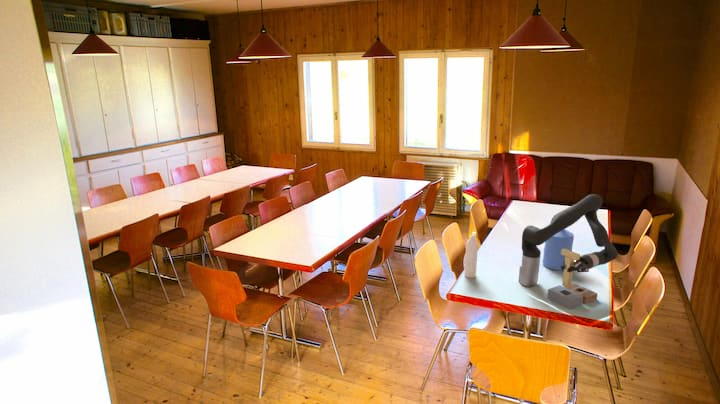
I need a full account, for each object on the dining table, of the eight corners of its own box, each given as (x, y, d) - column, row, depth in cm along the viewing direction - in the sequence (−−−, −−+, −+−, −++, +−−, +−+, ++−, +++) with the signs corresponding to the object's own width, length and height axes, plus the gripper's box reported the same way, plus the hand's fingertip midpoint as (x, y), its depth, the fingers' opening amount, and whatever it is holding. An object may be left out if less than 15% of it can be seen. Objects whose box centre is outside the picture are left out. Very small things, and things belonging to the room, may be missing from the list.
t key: (557, 283, 245) (560, 249, 240) (561, 281, 247) (564, 248, 241) (572, 290, 238) (576, 255, 233) (576, 288, 239) (580, 254, 234)
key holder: (546, 299, 249) (548, 289, 247) (558, 295, 253) (559, 285, 251) (570, 311, 237) (571, 300, 235) (581, 306, 241) (583, 295, 239)
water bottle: (474, 278, 273) (477, 237, 266) (463, 276, 276) (465, 236, 269) (477, 272, 281) (480, 232, 274) (466, 271, 283) (468, 231, 276)
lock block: (561, 294, 254) (562, 286, 253) (572, 290, 258) (573, 283, 257) (585, 305, 242) (586, 297, 241) (596, 301, 247) (597, 293, 245)
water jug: (572, 271, 281) (578, 226, 274) (544, 269, 284) (549, 225, 277) (567, 261, 296) (572, 218, 288) (540, 259, 299) (545, 217, 291)
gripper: (576, 250, 251) (553, 257, 243) (600, 259, 239) (578, 267, 231) (574, 263, 253) (552, 270, 245) (598, 273, 241) (576, 281, 233)
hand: (565, 269), depth 238 cm, fingers closed on t key, 3 cm apart
